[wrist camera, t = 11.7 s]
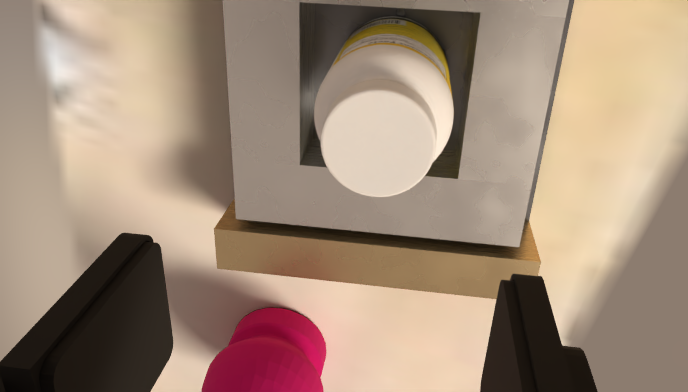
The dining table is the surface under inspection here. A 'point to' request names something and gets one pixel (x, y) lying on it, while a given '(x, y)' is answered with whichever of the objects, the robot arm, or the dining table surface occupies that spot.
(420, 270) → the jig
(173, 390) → the dining table surface
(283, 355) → the pepper mill
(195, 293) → the dining table surface
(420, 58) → the supplement bottle
